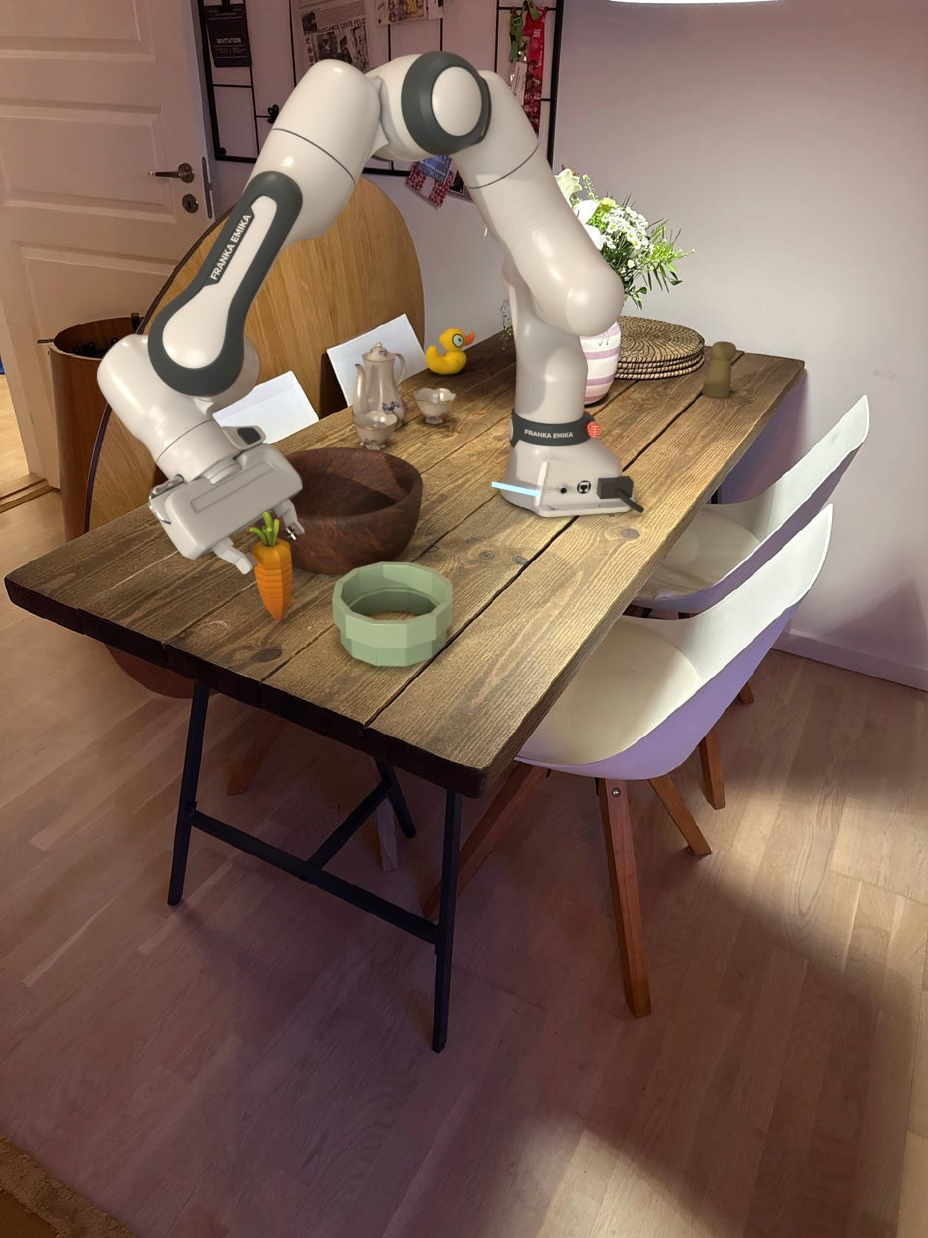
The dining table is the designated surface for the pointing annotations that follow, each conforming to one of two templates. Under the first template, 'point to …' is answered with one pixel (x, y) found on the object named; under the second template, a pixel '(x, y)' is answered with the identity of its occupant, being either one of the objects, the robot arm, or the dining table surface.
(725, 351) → the olive brown knobbed cylinder
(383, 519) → the wooden bowl
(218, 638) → the dining table surface
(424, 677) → the dining table surface
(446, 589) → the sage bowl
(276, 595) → the carrot
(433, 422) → the chinaware
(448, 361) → the duckling
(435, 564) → the dining table surface
